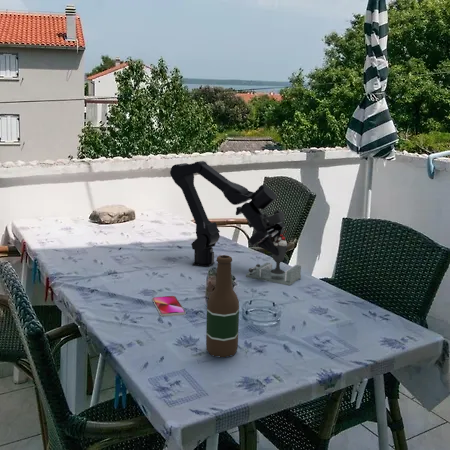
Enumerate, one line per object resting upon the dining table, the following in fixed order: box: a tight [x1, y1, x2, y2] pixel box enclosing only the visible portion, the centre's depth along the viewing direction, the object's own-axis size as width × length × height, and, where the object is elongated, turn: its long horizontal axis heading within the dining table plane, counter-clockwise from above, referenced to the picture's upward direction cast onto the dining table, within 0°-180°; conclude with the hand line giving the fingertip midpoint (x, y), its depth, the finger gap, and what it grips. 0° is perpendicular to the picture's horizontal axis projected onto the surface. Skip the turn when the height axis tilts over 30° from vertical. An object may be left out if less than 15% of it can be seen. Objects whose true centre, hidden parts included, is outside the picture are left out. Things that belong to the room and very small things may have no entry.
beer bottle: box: [205, 254, 240, 358], centre depth 131 cm, size 8×8×24 cm
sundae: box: [271, 230, 290, 274], centre depth 189 cm, size 7×7×15 cm
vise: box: [245, 262, 302, 286], centre depth 192 cm, size 16×10×4 cm, turn 61°
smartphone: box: [151, 295, 186, 318], centre depth 162 cm, size 7×1×15 cm
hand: (282, 253), depth 189 cm, fingers closed on sundae, 6 cm apart
